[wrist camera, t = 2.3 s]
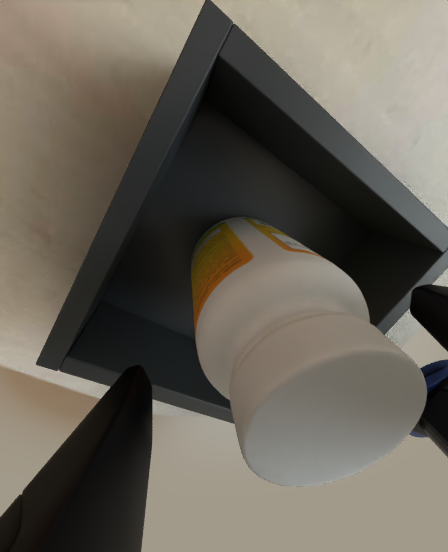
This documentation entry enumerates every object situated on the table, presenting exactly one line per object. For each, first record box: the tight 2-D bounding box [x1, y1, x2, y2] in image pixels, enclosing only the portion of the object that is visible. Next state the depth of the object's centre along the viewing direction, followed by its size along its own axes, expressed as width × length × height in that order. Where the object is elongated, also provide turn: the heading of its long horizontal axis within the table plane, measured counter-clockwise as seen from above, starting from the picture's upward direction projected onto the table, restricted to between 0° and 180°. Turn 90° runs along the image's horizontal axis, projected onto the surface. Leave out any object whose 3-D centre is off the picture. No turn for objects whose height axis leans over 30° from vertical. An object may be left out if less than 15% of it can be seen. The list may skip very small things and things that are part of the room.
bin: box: [36, 0, 448, 424], centre depth 12 cm, size 13×13×5 cm
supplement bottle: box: [191, 217, 427, 487], centre depth 9 cm, size 5×5×10 cm
